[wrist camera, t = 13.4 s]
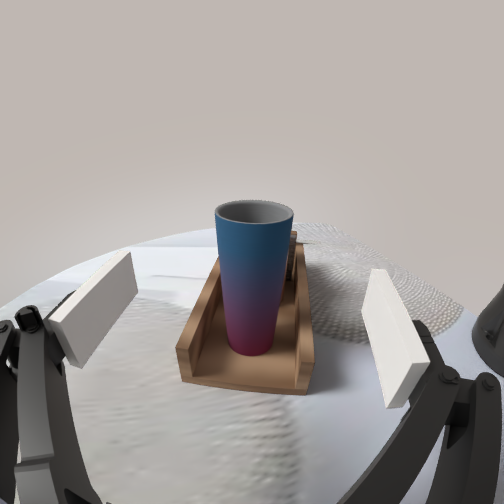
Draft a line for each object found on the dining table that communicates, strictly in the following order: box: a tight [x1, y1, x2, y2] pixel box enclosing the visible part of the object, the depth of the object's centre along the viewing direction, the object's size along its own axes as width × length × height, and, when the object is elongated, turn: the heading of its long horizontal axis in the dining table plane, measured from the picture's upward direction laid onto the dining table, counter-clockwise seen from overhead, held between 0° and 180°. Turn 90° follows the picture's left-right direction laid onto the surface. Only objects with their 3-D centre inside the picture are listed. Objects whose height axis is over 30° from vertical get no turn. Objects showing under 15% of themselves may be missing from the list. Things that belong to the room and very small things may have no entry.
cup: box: [215, 200, 293, 356], centre depth 28 cm, size 7×7×15 cm
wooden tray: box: [175, 231, 315, 395], centre depth 36 cm, size 26×12×7 cm, turn 174°
